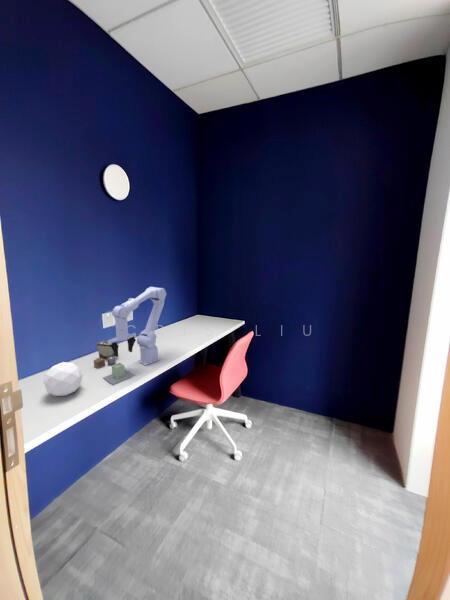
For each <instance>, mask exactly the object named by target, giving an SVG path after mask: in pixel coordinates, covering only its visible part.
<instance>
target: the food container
mask: <svg viewBox="0 0 450 600" xmlns="http://www.w3.org/2000/svg"><path fill="white" fill-rule="evenodd" d="M96 347H97V352H98V358H102V359H105V361H107V357H109V356H115V354H114V351H113V349H112V347H111V346H110V345H109V344H108V340H103V341H99V342H96ZM115 357H116V356H115Z"/></svg>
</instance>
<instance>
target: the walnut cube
mask: <svg viewBox="0 0 450 600" xmlns="http://www.w3.org/2000/svg"><path fill="white" fill-rule="evenodd" d="M93 366H94V368H96V369H98V370H99V369H101V368H104V367H106V360H105V359H102V358H99V357H98V358H96V359H94V360H93Z"/></svg>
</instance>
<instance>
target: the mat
mask: <svg viewBox="0 0 450 600" xmlns="http://www.w3.org/2000/svg"><path fill="white" fill-rule="evenodd" d="M133 376H134V377H136V375H135V374H134V373H133V372H131V371H129V370H127V369H126V368H125V376H124V377H121V378H119V379H116V378H114V377H113V375H112V373H111V374H109V375H106V376H104V377H102V379H103V380H104V381H105V382H107V383H109V384H110V385H111V386H114V385H117V384H120V383H122V382H124V381H127V380H129V379H131V377H132V378H134V377H133ZM126 379H127V380H126Z"/></svg>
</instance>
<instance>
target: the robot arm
mask: <svg viewBox="0 0 450 600" xmlns="http://www.w3.org/2000/svg"><path fill="white" fill-rule="evenodd" d="M166 296H167V292H166V289H165V288H164V287H156V286H149V287H148V288H146V289H145V291H144V292H142V293H140V294H139V295H138V296H136V297H135V298H132V297H130V298H128V300H127V301H125V302H123V303H121V304H120V305H116V306H114V308H113V309H112V312H111V314H112V316H113V317H114V322H115V335H116V336H115V337H112V338H111V339H109V340H107V341H108V344H109V345H110V346H111V347H112V349H113V351H114V354H115V358H116V357H119V347H120V346H119V344H118V343H120V342H123V341H126V342H127V348H128V349H127V350H128V352H129V353H132V352H133V347H134V345H135V342H136V343H137V345H139V351H140V359H139V360H137V362H138V363H140V364H142V365H144V366H148V365H150V364H153V363H155V362H159V361H160V358H159V349H158V346H157V345H156V342H157V340H156V339H157V337H158V336H157V335H156V333H155V331H156V329H157V325H158V323H159V319H160V316H161V313H162V311H163V309H164V305H165V300H166ZM148 299H150V301H152V304H153V306H152V309H151V312H150V314H149V317H148V320H147V323H146V325H145V329H143V330H141V331H140V333H139V335H138V336H137V334H136V333H129V327H128V317H129V316H130V314H131V312H133V311H134V310H136V309H137V308H139V306H140V304H141V303H142V302H145V301H147V300H148ZM136 338H137V339H136Z"/></svg>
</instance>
